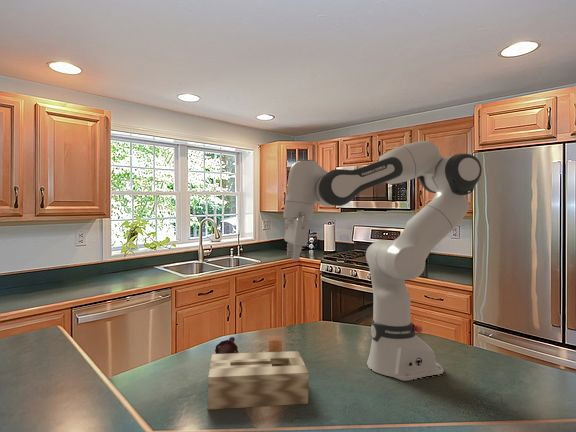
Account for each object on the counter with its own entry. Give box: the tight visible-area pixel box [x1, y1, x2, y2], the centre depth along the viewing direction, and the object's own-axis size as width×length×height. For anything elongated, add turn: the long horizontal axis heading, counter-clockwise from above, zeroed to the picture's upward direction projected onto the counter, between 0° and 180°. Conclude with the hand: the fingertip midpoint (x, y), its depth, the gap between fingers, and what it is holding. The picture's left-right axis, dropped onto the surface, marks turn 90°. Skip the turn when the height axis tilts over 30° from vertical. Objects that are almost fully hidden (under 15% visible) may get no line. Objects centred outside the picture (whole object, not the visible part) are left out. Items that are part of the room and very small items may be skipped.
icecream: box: [214, 336, 239, 354], centre depth 108 cm, size 7×7×15 cm
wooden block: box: [266, 335, 283, 352], centre depth 104 cm, size 4×4×9 cm
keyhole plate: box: [206, 350, 310, 410], centre depth 89 cm, size 24×14×8 cm, turn 99°
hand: (292, 258), depth 103 cm, fingers open, 8 cm apart
